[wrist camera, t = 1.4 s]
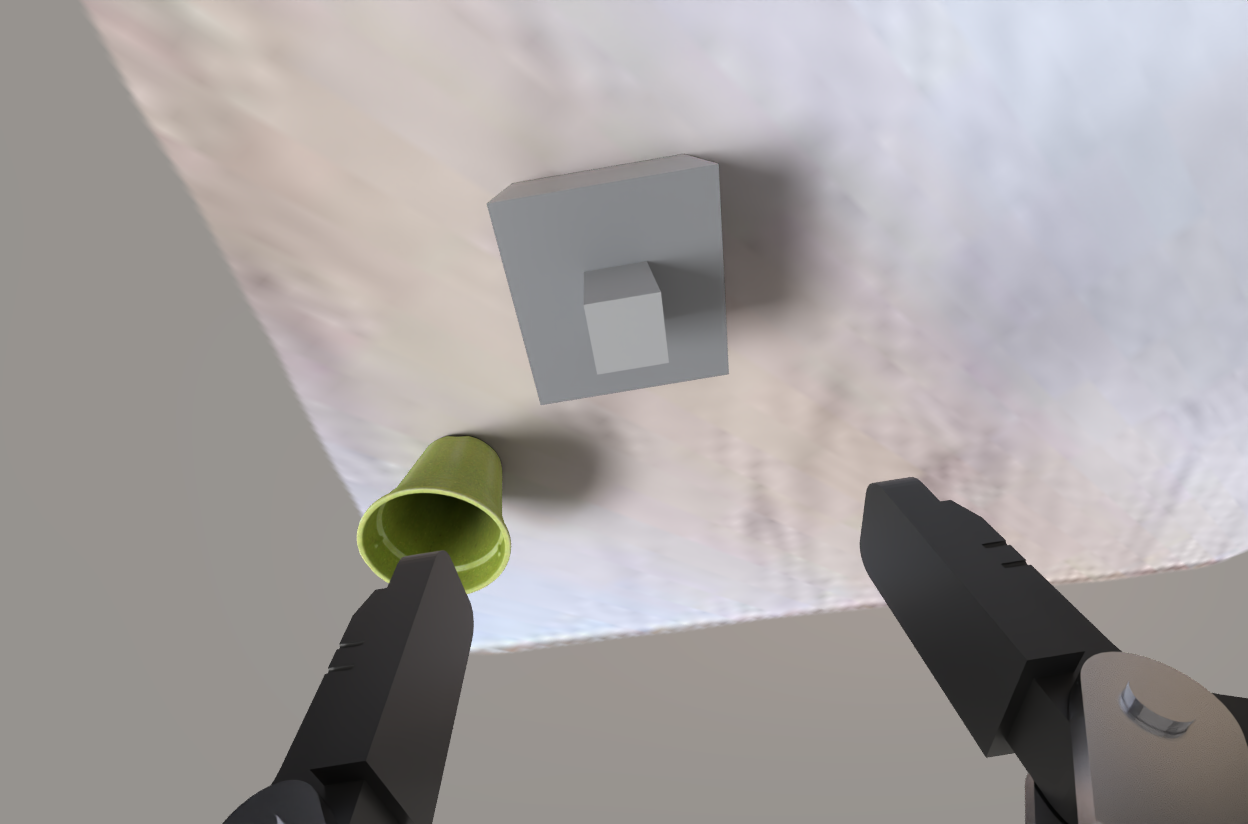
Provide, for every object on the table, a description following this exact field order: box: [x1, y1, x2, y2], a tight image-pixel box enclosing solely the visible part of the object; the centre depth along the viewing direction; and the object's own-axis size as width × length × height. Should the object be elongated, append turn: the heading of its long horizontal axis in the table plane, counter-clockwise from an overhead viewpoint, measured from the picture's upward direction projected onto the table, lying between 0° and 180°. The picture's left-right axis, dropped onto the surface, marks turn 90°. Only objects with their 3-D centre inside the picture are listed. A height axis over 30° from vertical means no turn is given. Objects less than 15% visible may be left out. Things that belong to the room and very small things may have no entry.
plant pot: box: [357, 436, 511, 594], centre depth 35 cm, size 9×9×9 cm
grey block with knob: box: [487, 154, 729, 405], centre depth 26 cm, size 10×10×14 cm
